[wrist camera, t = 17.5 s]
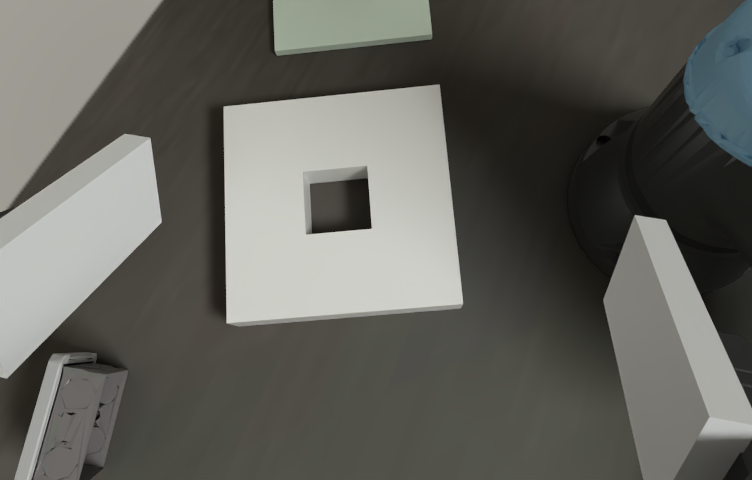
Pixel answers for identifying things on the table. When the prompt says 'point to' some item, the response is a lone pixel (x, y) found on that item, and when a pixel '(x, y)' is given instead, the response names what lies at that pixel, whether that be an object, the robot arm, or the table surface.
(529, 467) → the table surface
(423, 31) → the pad
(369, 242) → the socket block
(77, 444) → the electrical switch
